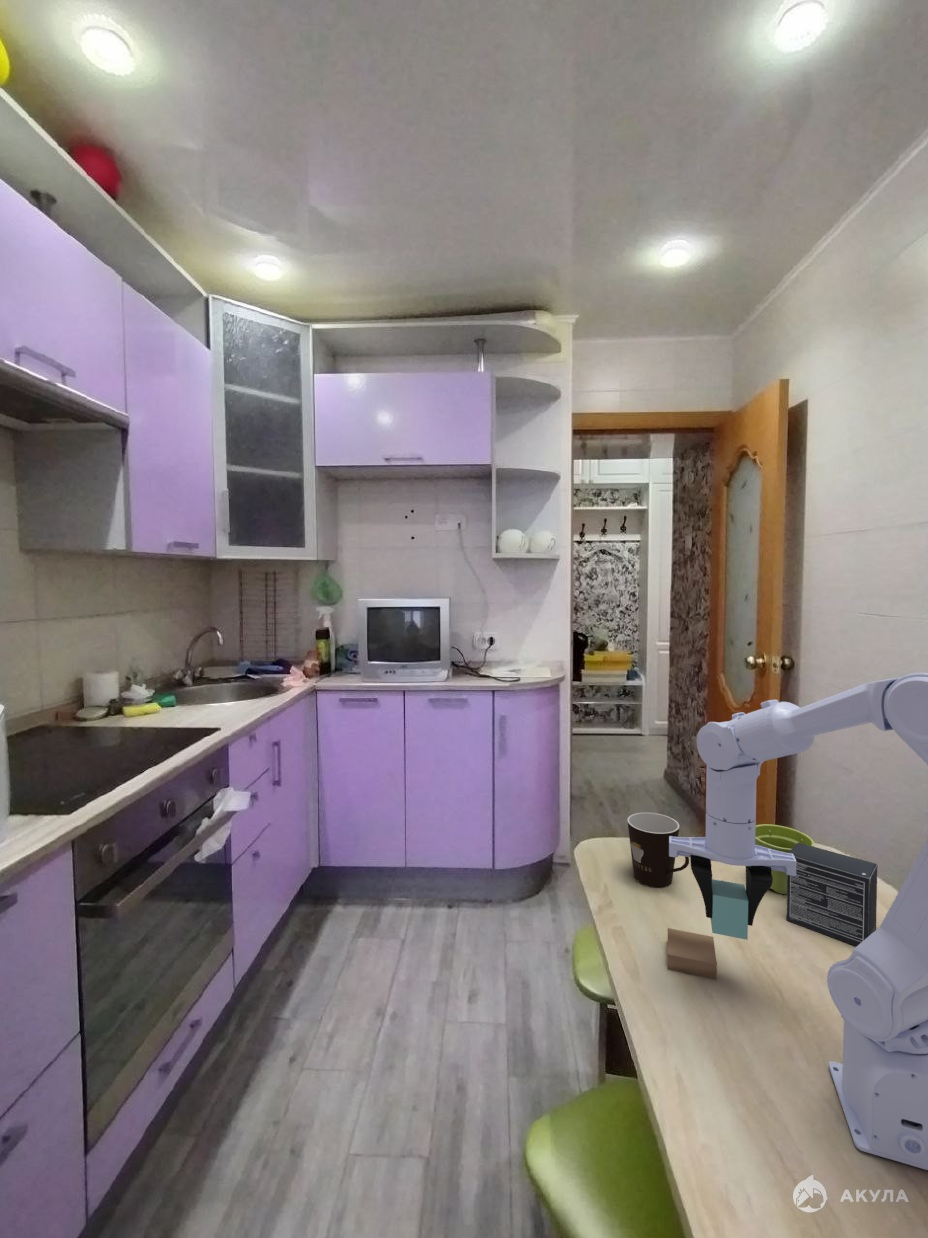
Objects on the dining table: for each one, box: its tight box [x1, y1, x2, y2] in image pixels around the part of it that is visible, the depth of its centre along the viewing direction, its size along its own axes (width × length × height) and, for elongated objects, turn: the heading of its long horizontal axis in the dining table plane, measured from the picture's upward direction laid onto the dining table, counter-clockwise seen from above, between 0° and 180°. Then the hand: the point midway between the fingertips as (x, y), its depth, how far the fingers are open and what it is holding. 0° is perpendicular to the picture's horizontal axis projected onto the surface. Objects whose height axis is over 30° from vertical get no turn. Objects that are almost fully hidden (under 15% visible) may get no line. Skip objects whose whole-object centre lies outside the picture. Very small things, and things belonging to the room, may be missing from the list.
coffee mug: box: [627, 811, 690, 889], centre depth 94 cm, size 12×9×10 cm
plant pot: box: [755, 823, 815, 895], centre depth 92 cm, size 9×9×9 cm
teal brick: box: [710, 878, 749, 941], centre depth 70 cm, size 4×4×5 cm
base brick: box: [667, 927, 718, 980], centre depth 75 cm, size 6×6×2 cm
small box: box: [785, 843, 878, 947], centre depth 81 cm, size 11×6×10 cm, turn 45°
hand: (728, 917), depth 70 cm, fingers closed on teal brick, 4 cm apart
